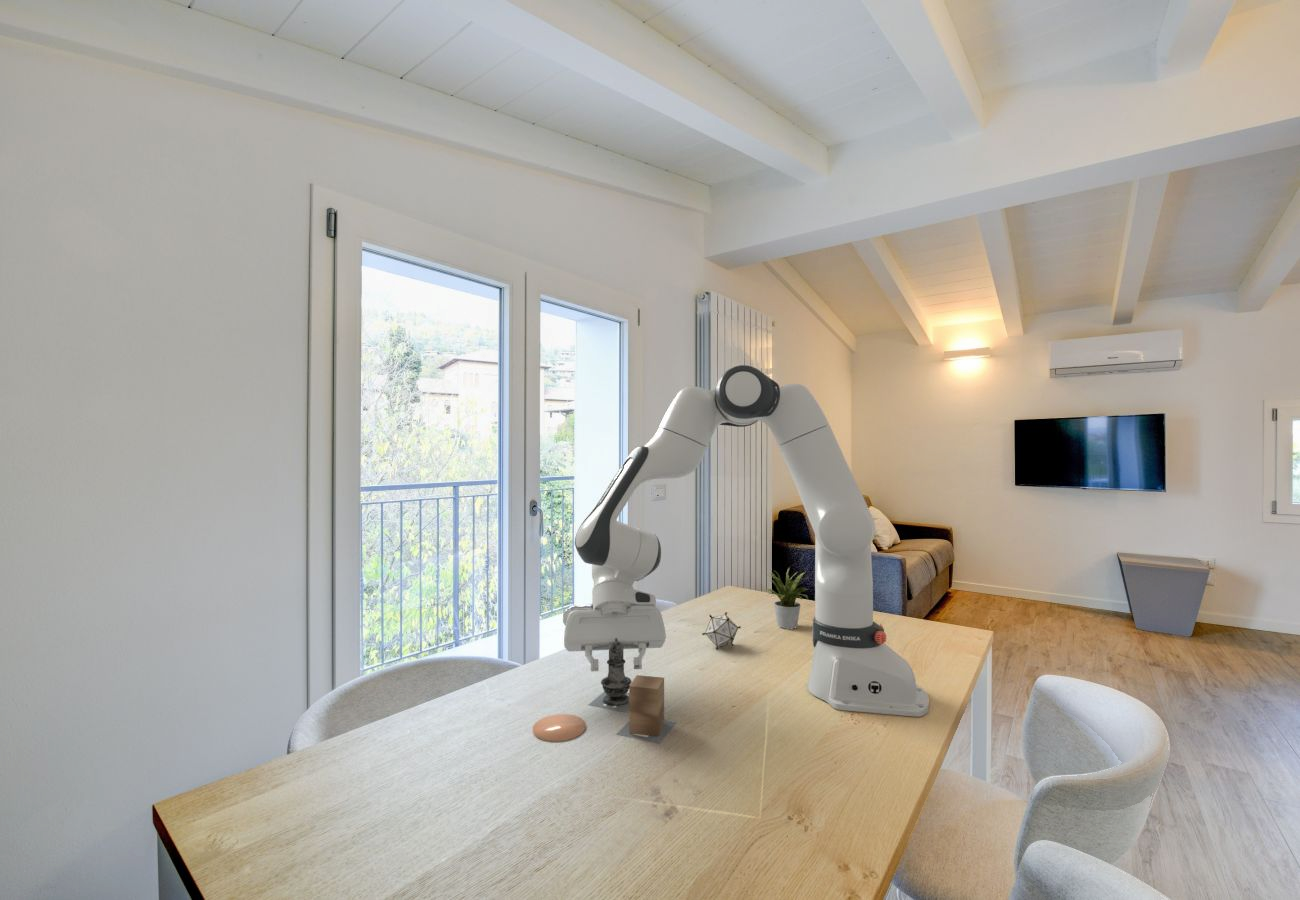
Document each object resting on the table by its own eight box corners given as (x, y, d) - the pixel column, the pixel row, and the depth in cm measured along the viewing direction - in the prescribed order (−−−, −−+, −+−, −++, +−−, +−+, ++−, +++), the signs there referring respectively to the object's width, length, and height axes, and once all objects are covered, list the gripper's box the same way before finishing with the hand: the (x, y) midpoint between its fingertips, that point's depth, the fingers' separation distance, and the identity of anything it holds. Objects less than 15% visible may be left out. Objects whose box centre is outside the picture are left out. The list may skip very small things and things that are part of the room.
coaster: (594, 722, 102) (594, 719, 102) (568, 746, 94) (568, 743, 94) (551, 713, 105) (551, 710, 105) (522, 736, 97) (522, 732, 97)
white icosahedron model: (728, 663, 141) (744, 638, 135) (696, 651, 141) (710, 625, 135) (731, 635, 148) (746, 610, 143) (700, 623, 148) (714, 598, 143)
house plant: (756, 633, 152) (756, 571, 152) (756, 618, 166) (755, 561, 166) (812, 636, 150) (812, 573, 150) (807, 620, 163) (806, 563, 163)
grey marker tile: (643, 696, 113) (643, 695, 113) (625, 713, 106) (625, 712, 106) (607, 689, 116) (607, 688, 116) (587, 705, 109) (587, 704, 109)
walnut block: (664, 722, 101) (664, 677, 101) (658, 736, 97) (658, 688, 97) (636, 719, 103) (636, 675, 103) (629, 733, 98) (629, 686, 98)
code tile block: (676, 723, 102) (676, 722, 102) (659, 744, 94) (659, 743, 94) (635, 715, 105) (635, 714, 105) (616, 735, 97) (616, 734, 97)
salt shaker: (636, 696, 112) (636, 635, 112) (622, 708, 107) (622, 644, 107) (610, 691, 115) (610, 631, 115) (595, 703, 109) (595, 640, 109)
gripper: (562, 598, 117) (561, 664, 107) (662, 595, 119) (669, 659, 109) (563, 614, 121) (562, 678, 111) (659, 610, 123) (666, 673, 114)
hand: (616, 669), depth 110 cm, fingers open, 7 cm apart
